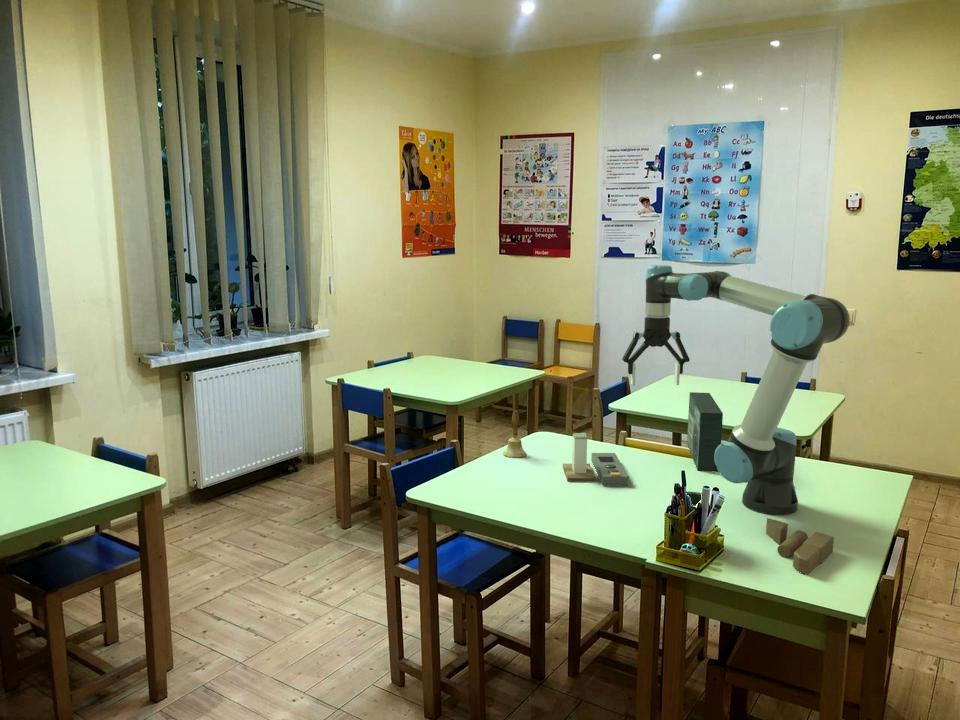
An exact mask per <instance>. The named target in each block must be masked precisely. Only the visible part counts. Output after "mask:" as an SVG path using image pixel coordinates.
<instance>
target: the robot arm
mask: <svg viewBox="0 0 960 720" xmlns="http://www.w3.org/2000/svg"><path fill="white" fill-rule="evenodd" d="M705 298H712V299H716V300H720V301H723V302H727V303H730V304H733V305H737V306H741V307H742V308H746V309H750V310H754V311H755V312H756V311H757V312H758V313H759V312H760V313H763V314H766V315H769V316H771V319H770V322H769V331H770V332H771V333H770V336H771V339H770V346H771V348H772V349H773V351H772V352H771V353H772V354H771V356H770V358H769V360H768V362H767V364H766V367H765V369H764V371H763V374H762V376H761V378H760V380H759V383H758V386H757V387H756V390H755V391H754V392H755V393H754V394H753V397H752V399H751V402H750V403H749V406H748V408H747V410H746V413H745V415H744V417H743V420H742V422H741V424H738V425H736V426H733V428H732V430H731V433H730V435H729V438H728V440H727V441H724V442H721V444H720V445H719V446H718V447H717V448H716V450H715V454H714V460H715V464H716V466H717V469H718V471H719V472H718V473H719V474H720V475H721V476H722V478H724V479H725V480H726V481H727V482H730V483H732V484H743V483H744V484H745V483H747V484H746V485H745V487H744V490H743V493H742V498H741V502H742V504H743V506H744V507H746V508H748V509H750V510H753V511H756V512H758V513H762V514H767V515H769V514H770V515H778V516H779V515H790V514H793V513H795V512H797V511H798V509H799V508H798V507H799V500H798V495H797V492H796V489H795V488H796V487H795V483H794V477H795V476H794V475H795V464H796V463H795V462H796V455H797V454H796V453H797V446H798V444H797V435H796V433H795V432H794V431H793V430H789V429H786V428H783V427H778V426H779V424H780V422H781V419H782V417H783V415H784V414H785V412H786V409H787V406H788V405H789V402H790V400H791V399H792V396H793V394H794V392H795V390H796V388H797V385H798V383H799V381H800V380H801V376H802V375H803V372H804V370H805V368H806V366H807V363H810V362H814V361H815V360H816V359H817V357H818V356H819V353H820V352H821V349H822V347H823V345H824V344H828V343H829V344H830V343H832V342H833V343H834V342H836V341H837V340H839V339H840V338H842V337H843V336H844V335H845V334H846V332H847V331H848V329H849V327H850V323H851V322H850V320H851V319H850V317H851V316H850V313H849V310H848V309H847V307H846V306H845V305H844V304H843V302H841V301H839V300H838V299H835V298H831V297H826V296H822V295H818V294H815V293H809V294H807V295H804V294H803V295H802V294H798V293H794V292H793V291H792V292H791V291H787V290H783V289H780V288H776V287H772V286H769V285H766V284H761V283H759V282H755V281H750V280H746V279H743V278H739V277H736V276H732V275H731V274H730V273H729V272H727V271H720V270H716V271H707V272H691V273H689V272H688V273H685V272H684V273H679V272H677V273H676V272H674V271H673V267H672V266H671V265H667V264H652V265H649V266H647V269H646V277H645V306H644V307H645V309H644V315H645V317H644V330H643V332H639V331H634V332H633V335H632V340H631V342H630V343H629V345H628V347H627V348H626V351H625V353H624V354H623V356H622V358H621V359H622V360H621V361H623V362H624V363H627V373H628V375H630V385H632V386H636V366H637V365H636V364H635V362H636V361H637V360H638V358H639V357H640V356H642V354H643V353H644V352H645V351H646V349H648V348H649V347H651V348H655V347H658V348H659V347H660V348H662V347H665V348H666V349H667V350H668V351H669V353H670V354H671V355H672V357H673V358H674V359H675V360H676V361H677V362H675V363H674V379H673V380H674V382H673V383H674V384H675V385H676V386H680V376H681V375H683V373H684V365H685V363H689V362H690V357H689V355H688V353H687V350H686V349H685V346H684V344H683V342H682V340H681V333H680V332H679V331H677V330H675V331H674V332H671V331H670V328H671V326H670V325H671V318H670V316H671V308H672V307H671V306H672V305H671V303H672V301H671V300H672V299H678V300H685V301H701V300H702V299H705ZM641 338H643V340H644V341H643V342H642V343H641V345H640V346H639V347H638V348H637V350H635V352H634V349H635V348H636V346H637V344H638V343H639V340H641ZM671 338H672V339H673V340H674V341H675V344H676V346H677V348H678V350H679V352H680V354H681V356H680V355H679V353H678V352H677V351H676V350H675V348H674V347H673V346H672V345H671V343H670V342H669V340H670V339H671ZM633 352H634V353H633ZM632 353H633V354H632Z"/></svg>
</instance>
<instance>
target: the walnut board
mask: <svg viewBox="0 0 960 720" xmlns="http://www.w3.org/2000/svg"><path fill="white" fill-rule="evenodd" d="M562 470H563V472H564V475H565V477H566V480H567V482H568V483H569V481H596V482H597V477H596V475H595V473H594V471H593V467H592V465H591V464H590V463H587V467H586V473H574V472H573V469H572V463H562Z"/></svg>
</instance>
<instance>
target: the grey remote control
mask: <svg viewBox="0 0 960 720" xmlns="http://www.w3.org/2000/svg"><path fill="white" fill-rule="evenodd" d="M590 457H591V461H592V462H591V463H593V464H592V465H594V466H593V468H594V467H595V468H594V470H595V469H596V470H595V472H597V473H596V474H598V475H597V477H598V476H599V477H598V479H599V478H600V479H599V480H601V481H600V483H601V486H602V485H628V486H629V479H630V478H629V475H628V473H627V471H626V470H625V468H624V466H623V463H621V460H620V459H619V457H618V456H617V454H616V453H615V452H591V456H590Z"/></svg>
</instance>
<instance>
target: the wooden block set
mask: <svg viewBox="0 0 960 720" xmlns="http://www.w3.org/2000/svg"><path fill="white" fill-rule="evenodd" d="M788 528H789V523H787V522H783V521H780V520H776V519H772V518H771V517H770V518H769V517H766V527H765V534H766V535H767V536H768V537H769V539H771V540H772V539H773V540H772V541H773V542H775V544H777V545H778V546H777V550H776V551H777V553H778V555H779V556H780V557H782V558H789V557H790V556H791V555H792V554H793V560H792V567H793V568H794V569H795V570H796V571H797V572H798V571H799V572H801V573H800V574H802V573H804V574H803V575H805V574H807V575H809V573H810V572H811V571H813V570H814V569H815V568H816V567H817V566H818V565H820V564H819V563H821V564H822V563H824V561H825V560H827V559H828V558H829V557H828V556H829V555H830V554H831V553H832V552H834V543H835V542H834V541H835V538H834V536H832V535H828V534H825V533H821V532H817V531H815V532H814V533H813V534H812V535H811V536H808V533H807V532H806V531H804V530H802V529H801V530H800V529H798V530H797V531H795V532H794V533H792V535H789V537H788ZM786 539H787V540H786ZM781 543H782V544H781ZM832 554H833V553H832ZM832 554H831V555H832ZM831 555H830V556H831ZM799 572H798V573H799Z"/></svg>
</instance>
